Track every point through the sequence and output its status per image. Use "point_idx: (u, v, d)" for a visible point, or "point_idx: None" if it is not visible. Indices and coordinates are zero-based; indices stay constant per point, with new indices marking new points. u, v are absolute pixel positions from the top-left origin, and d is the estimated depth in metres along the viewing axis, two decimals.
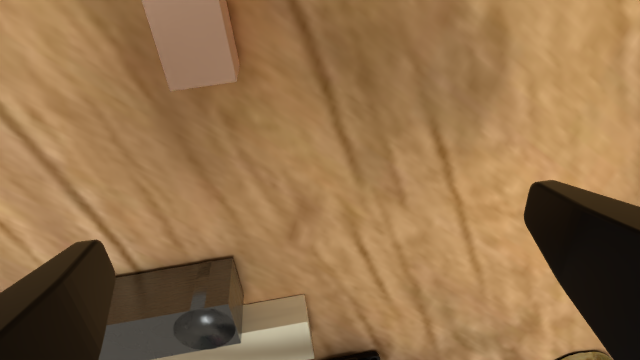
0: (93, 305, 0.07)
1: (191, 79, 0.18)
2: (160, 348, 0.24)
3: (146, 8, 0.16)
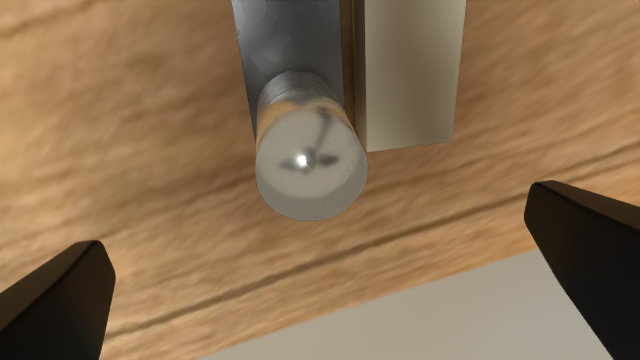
0: (93, 305, 0.07)
1: None
2: None
3: None
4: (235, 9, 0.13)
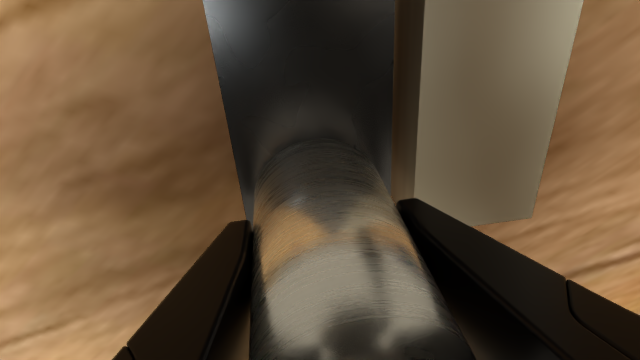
0: None
1: None
2: None
3: None
4: (215, 44, 0.07)
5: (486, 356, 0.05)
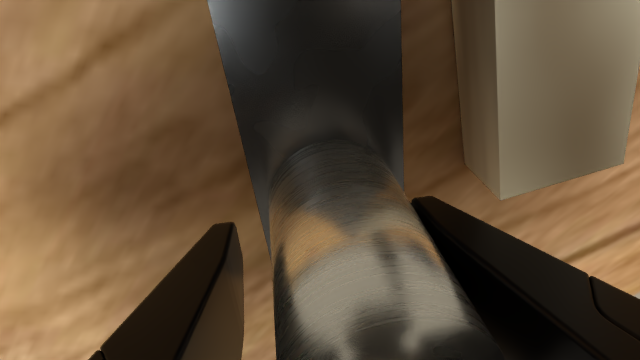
0: (238, 284, 0.07)
1: None
2: None
3: None
4: (224, 52, 0.07)
5: (508, 352, 0.06)
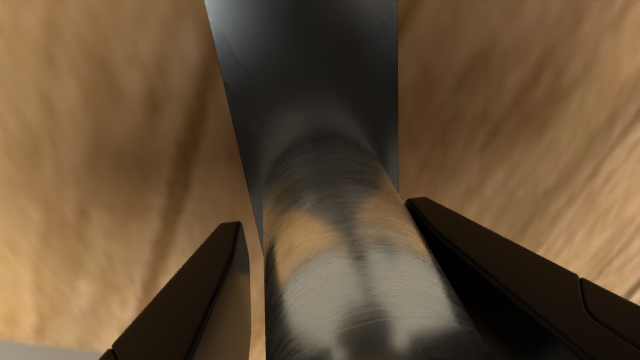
0: (245, 283, 0.07)
1: None
2: None
3: None
4: (220, 50, 0.07)
5: (499, 354, 0.05)
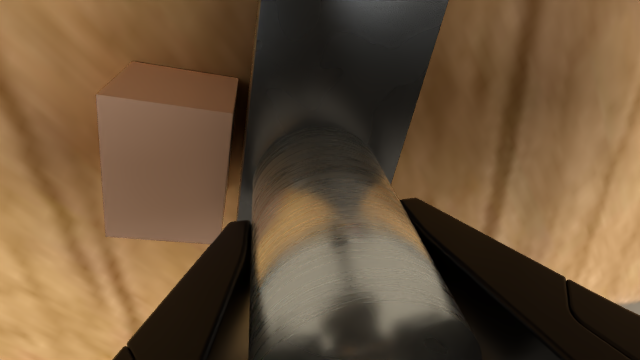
0: None
1: (186, 122, 0.09)
2: None
3: (217, 229, 0.11)
4: (264, 7, 0.07)
5: (486, 356, 0.05)
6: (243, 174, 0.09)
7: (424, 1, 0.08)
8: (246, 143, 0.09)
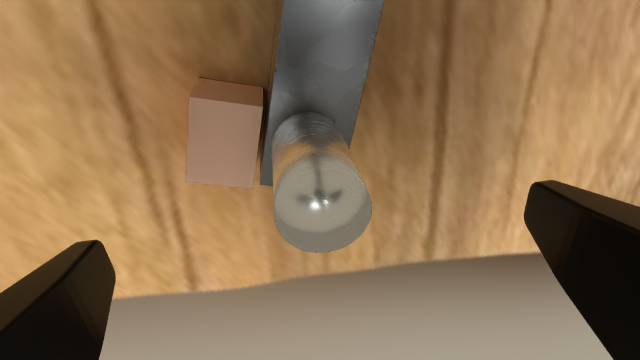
0: (93, 305, 0.07)
1: (236, 112, 0.17)
2: None
3: (252, 178, 0.18)
4: (279, 50, 0.15)
5: None
6: (266, 139, 0.16)
7: (360, 46, 0.15)
8: (268, 121, 0.16)
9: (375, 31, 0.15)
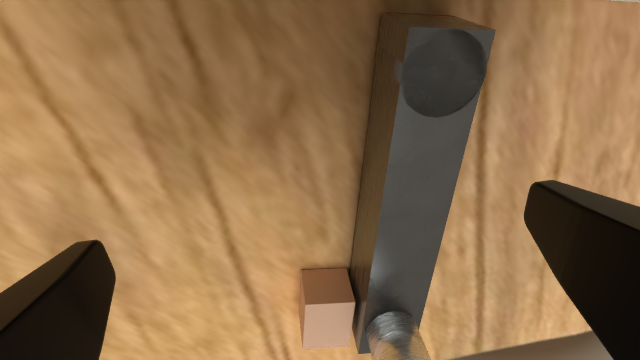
0: (93, 305, 0.07)
1: (337, 307, 0.24)
2: (449, 141, 0.18)
3: (348, 341, 0.26)
4: (370, 285, 0.22)
5: None
6: (362, 329, 0.23)
7: (424, 273, 0.22)
8: (363, 320, 0.23)
9: (434, 264, 0.21)
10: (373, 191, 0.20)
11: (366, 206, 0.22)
